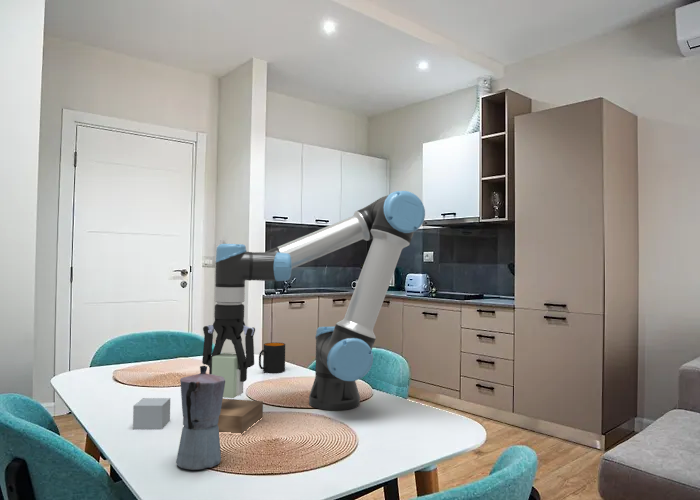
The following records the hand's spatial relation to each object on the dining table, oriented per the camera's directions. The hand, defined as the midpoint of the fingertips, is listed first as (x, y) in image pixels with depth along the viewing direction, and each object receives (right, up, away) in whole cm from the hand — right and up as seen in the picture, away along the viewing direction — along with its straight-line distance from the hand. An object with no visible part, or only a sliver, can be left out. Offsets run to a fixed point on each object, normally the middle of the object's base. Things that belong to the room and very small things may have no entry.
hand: (227, 393), depth 132 cm
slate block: (-19, -8, -1) cm, 21 cm away
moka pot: (0, -8, -26) cm, 27 cm away
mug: (+1, -10, +63) cm, 63 cm away
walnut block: (0, -8, 0) cm, 8 cm away
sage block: (0, 0, 0) cm, 0 cm away
